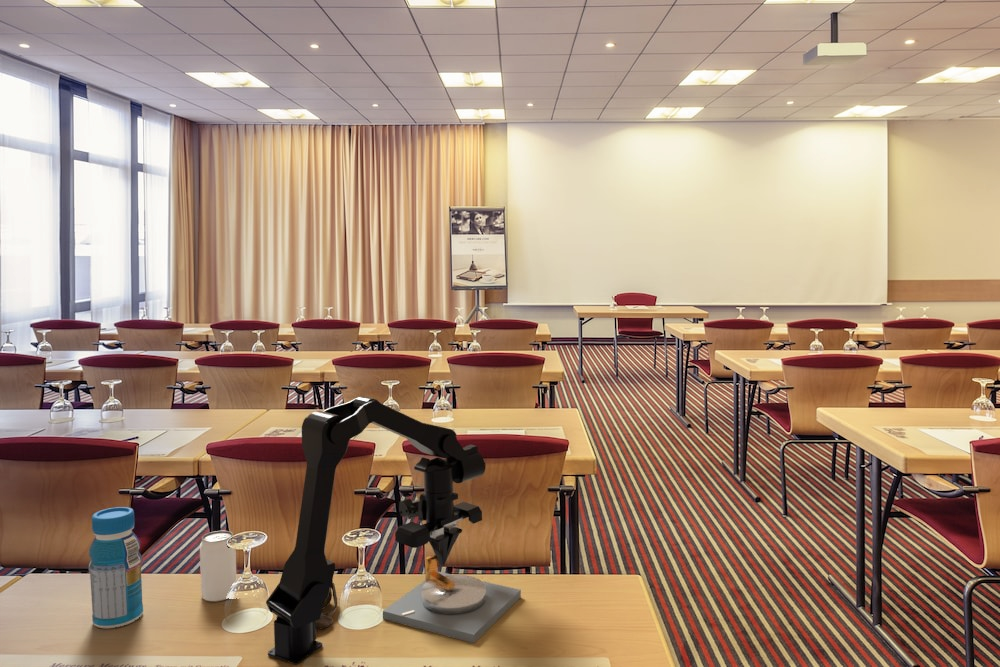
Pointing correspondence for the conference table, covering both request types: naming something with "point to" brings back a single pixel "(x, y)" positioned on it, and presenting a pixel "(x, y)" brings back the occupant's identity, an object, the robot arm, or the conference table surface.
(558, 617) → the conference table surface
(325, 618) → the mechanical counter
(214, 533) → the can
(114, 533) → the beverage bottle
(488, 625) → the dial plate
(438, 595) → the dial
